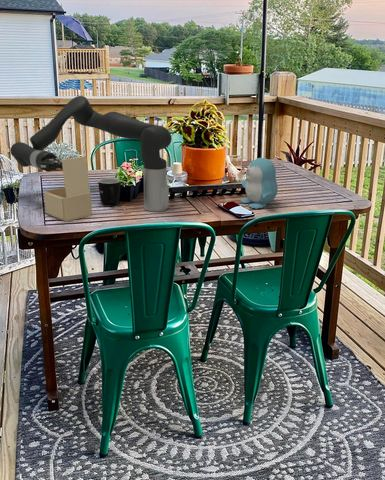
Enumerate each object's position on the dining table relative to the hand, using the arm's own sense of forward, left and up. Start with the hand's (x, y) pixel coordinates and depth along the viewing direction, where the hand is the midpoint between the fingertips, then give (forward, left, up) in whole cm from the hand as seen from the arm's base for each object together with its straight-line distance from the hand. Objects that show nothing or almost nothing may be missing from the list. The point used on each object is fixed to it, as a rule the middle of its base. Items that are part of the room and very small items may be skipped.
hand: (68, 167), depth 186 cm
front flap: (-5, +2, -3) cm, 5 cm away
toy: (-62, -49, -19) cm, 81 cm away
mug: (-6, -19, -19) cm, 27 cm away
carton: (+2, -1, -19) cm, 19 cm away
